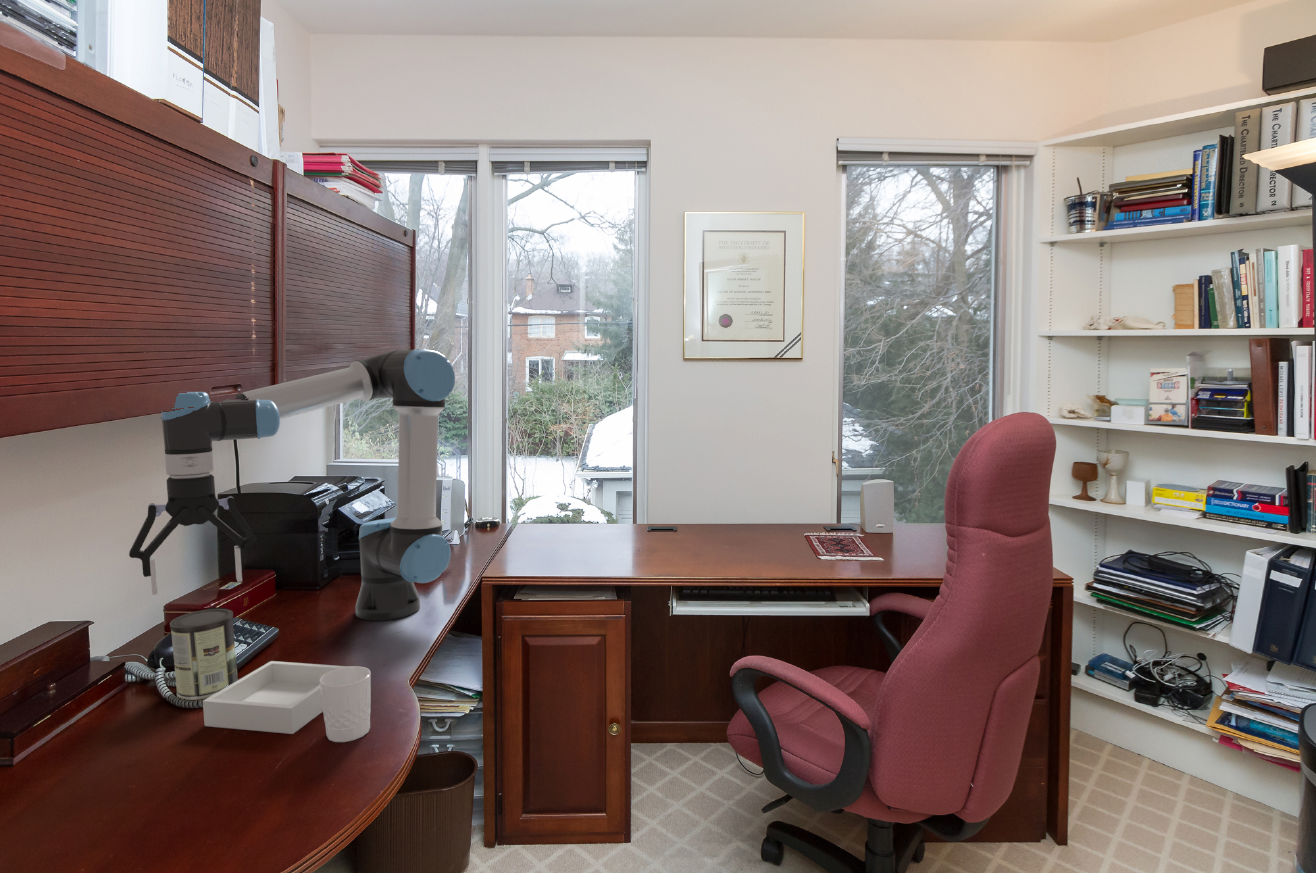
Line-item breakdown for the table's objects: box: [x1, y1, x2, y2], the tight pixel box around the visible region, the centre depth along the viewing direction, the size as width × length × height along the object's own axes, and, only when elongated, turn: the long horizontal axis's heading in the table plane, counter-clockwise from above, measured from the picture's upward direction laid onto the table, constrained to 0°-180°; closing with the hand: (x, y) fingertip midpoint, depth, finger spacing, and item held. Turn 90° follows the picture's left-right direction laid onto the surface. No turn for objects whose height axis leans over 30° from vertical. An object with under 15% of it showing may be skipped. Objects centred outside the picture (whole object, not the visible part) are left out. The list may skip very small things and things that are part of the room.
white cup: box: [319, 665, 372, 743], centre depth 125 cm, size 8×8×10 cm
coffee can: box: [169, 608, 239, 701], centre depth 142 cm, size 10×10×14 cm
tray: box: [202, 660, 349, 735], centre depth 134 cm, size 17×17×4 cm
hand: (198, 586), depth 140 cm, fingers open, 13 cm apart
